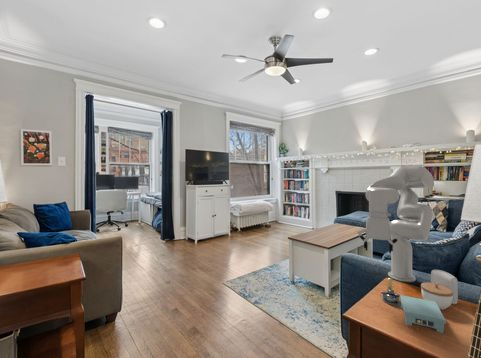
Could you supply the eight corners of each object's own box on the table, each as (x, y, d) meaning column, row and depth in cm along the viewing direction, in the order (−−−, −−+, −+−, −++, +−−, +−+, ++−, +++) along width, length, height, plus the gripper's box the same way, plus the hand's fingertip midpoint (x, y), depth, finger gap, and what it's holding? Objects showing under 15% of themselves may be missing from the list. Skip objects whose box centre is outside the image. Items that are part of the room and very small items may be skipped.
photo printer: (428, 293, 113) (429, 267, 113) (436, 292, 114) (436, 267, 113) (451, 305, 103) (451, 276, 102) (459, 304, 103) (460, 276, 103)
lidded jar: (459, 314, 96) (459, 291, 96) (429, 311, 98) (429, 288, 98) (442, 300, 106) (442, 279, 106) (415, 298, 109) (415, 277, 108)
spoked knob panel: (381, 295, 111) (381, 285, 111) (431, 305, 102) (431, 294, 102) (384, 320, 92) (384, 308, 92) (446, 335, 83) (446, 321, 83)
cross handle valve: (380, 291, 113) (380, 276, 113) (397, 294, 110) (398, 279, 110) (381, 301, 105) (381, 284, 104) (400, 305, 101) (400, 288, 101)
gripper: (398, 215, 111) (398, 251, 112) (357, 212, 119) (357, 246, 119) (401, 217, 105) (401, 256, 105) (357, 214, 112) (357, 250, 113)
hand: (377, 251), depth 112 cm, fingers open, 9 cm apart
